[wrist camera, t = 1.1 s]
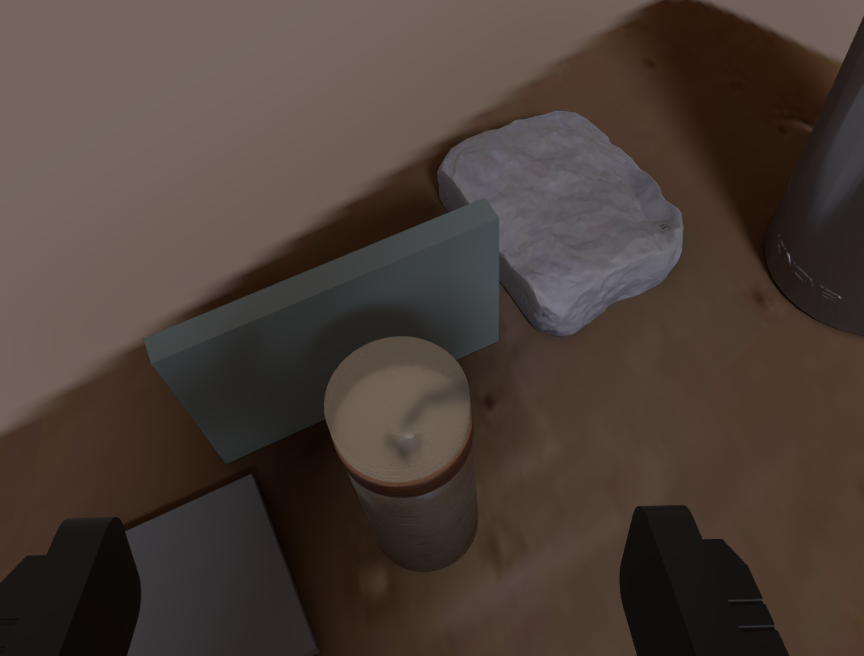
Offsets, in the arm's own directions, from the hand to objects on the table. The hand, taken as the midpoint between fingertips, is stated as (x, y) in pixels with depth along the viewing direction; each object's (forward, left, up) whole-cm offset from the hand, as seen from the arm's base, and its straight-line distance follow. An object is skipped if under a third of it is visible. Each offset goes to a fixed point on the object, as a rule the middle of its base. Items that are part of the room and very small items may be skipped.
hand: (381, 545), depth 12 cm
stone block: (-16, -18, -20) cm, 31 cm away
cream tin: (-2, -7, -20) cm, 21 cm away
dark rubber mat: (+8, -8, -20) cm, 23 cm away
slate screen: (-2, -14, -20) cm, 24 cm away
